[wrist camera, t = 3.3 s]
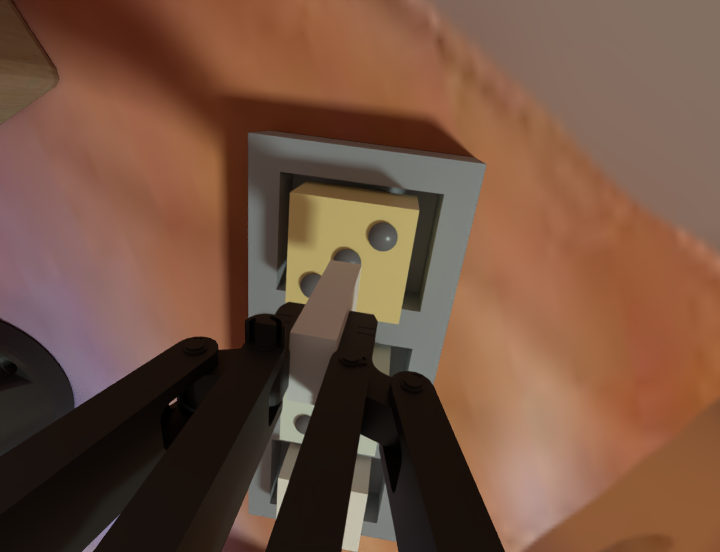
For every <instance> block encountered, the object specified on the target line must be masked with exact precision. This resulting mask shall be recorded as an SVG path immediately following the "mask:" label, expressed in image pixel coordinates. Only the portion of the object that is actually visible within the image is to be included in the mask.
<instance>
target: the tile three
mask: <svg viewBox="0 0 720 552" xmlns="http://www.w3.org/2000/svg"><path fill="white" fill-rule="evenodd" d="M418 215H419V205H418V198H417V196H413V195H406V194H399V193H391V192H384V191H377V190H370V189H363V188H355V187H348V186H341V185H334V184H326V183H319V182H312V181H307V182H305V183H304V184H302V185H300V186H299V187H297V188H296V189H294V190H293V191H291V192H290V203H289V227H288V251H287V274H286V298H285V303H287V302H295V303H301V304H306V303H307V301H308V299H309V297H310V296H311V294H312V292H313V290H314V288H315V287H316V285H317V283H318V281H319V280H320V278H321V276H322V274H323V272H324V271H325V269H326V267H327V265H328V263H329V262H330V260H334V261H341V262H347V263H354V264H360V265H362V266H361V274H360V282H359V290H358V298H357V306H356V312H362V313H368V314H374V316H375V317H376V319H377V321H380V322H386V323H393V324H399V320H400V315H401V309H402V304H403V298H404V293H405V287H406V282H407V276H408V271H409V265H410V260H411V254H412V249H413V243H414V237H415V232H416V226H417V221H418Z"/></svg>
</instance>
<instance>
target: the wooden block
mask: <svg viewBox="0 0 720 552" xmlns="http://www.w3.org/2000/svg"><path fill="white" fill-rule="evenodd" d="M58 81H59V77H58V73H57V70H56V68H55V67H54V65H53V64H52V62H51V61H50V59H49V58H48V56H47V55H46V53H45V52H44V50H43V49H42V47H41V46H40V44H39V43H38V41H37V40H36V38H35V36H34V35H33V33H32V32H31V30H30V29H29V27H28V26H27V24H26V23H25V21H24V20H23V18H22V17H21V15H20V14H19V12H18V11H17V9H16V7H15V6H14V4H13V3H12V1H11V0H0V124H2V123H3V122H5V121H6V120H8V119H9V118H11V117H12V116H13V115H15V114H16V113H18V112H19V111H21V110H22V109H23V108H25V107H26V106H28V105H29V104H31V103H32V102H34V101H35V100H36V99H38V98H39V97H41V96H42V95H44V94H45V93H47V92H48V91H49V90H51V89H52V88H54V87H55V86H56V85H57V83H58Z"/></svg>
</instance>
